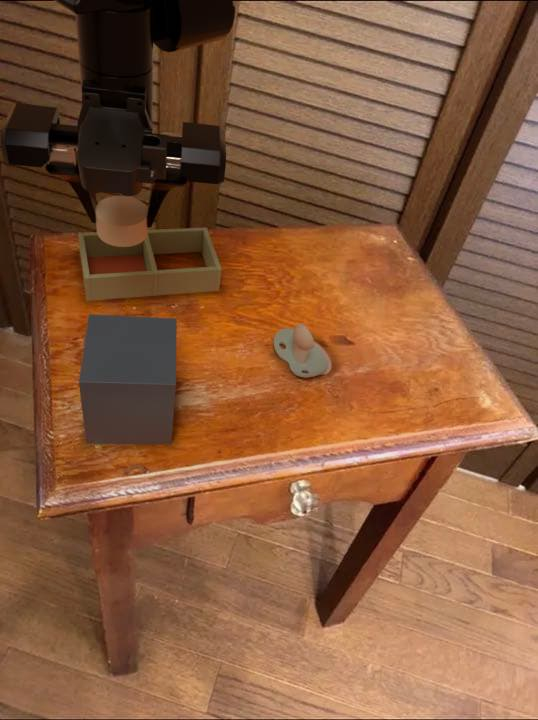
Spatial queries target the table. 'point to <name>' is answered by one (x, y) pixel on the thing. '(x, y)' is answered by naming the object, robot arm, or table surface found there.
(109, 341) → the stand
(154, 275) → the olive green divided tray
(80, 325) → the table surface
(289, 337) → the pacifier
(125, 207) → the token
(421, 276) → the table surface
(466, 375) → the table surface
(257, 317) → the table surface
